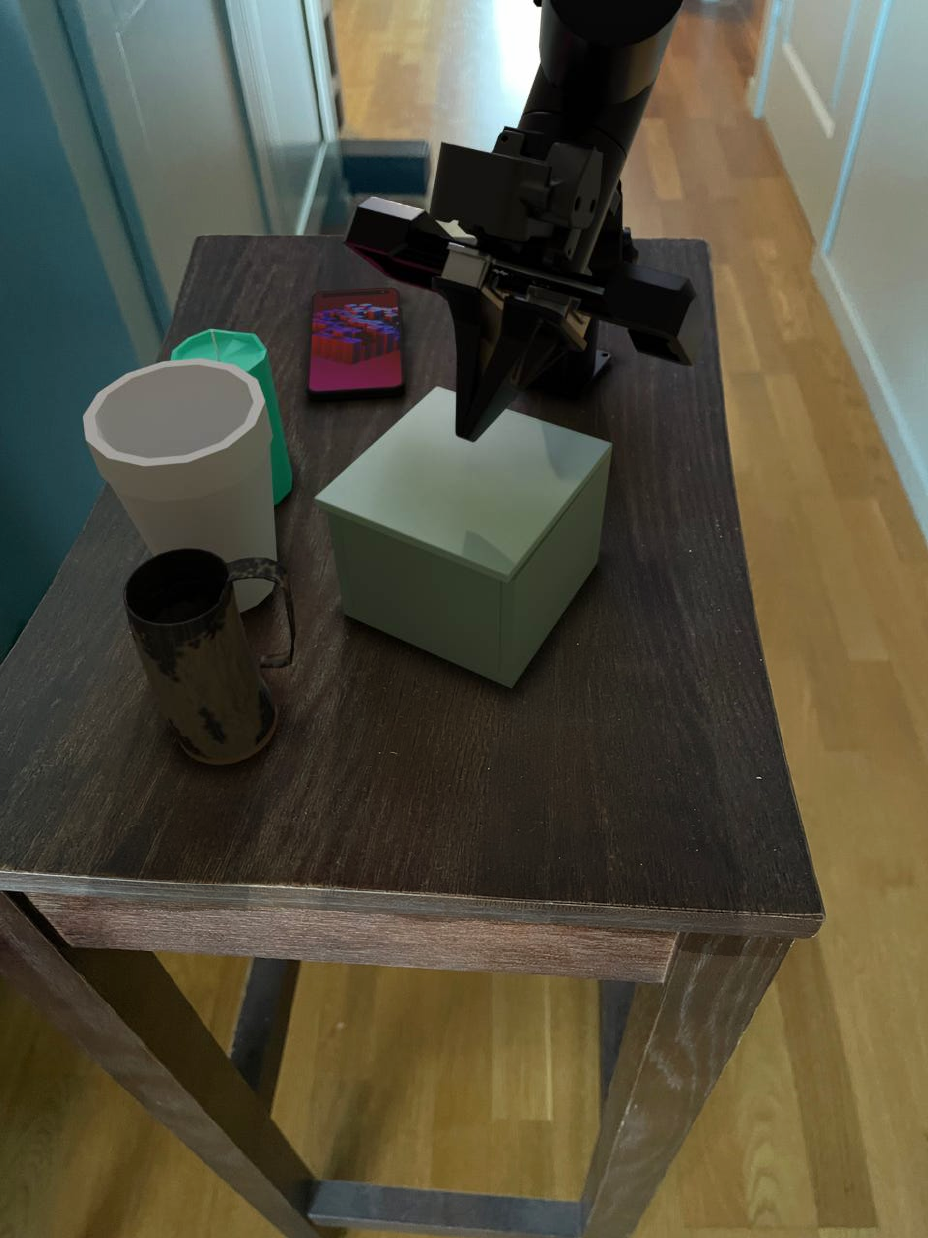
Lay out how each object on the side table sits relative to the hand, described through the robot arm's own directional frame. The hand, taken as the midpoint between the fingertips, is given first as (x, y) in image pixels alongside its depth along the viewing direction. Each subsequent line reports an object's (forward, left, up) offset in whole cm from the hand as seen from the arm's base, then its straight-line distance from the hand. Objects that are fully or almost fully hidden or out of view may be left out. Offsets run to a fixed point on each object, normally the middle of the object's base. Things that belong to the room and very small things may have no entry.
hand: (464, 439), depth 48 cm
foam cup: (+7, -14, -12) cm, 19 cm away
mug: (+15, -6, -12) cm, 20 cm away
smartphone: (-19, -22, -12) cm, 32 cm away
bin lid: (0, 0, -3) cm, 3 cm away
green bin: (0, 0, -12) cm, 12 cm away
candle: (-1, -18, -12) cm, 22 cm away
